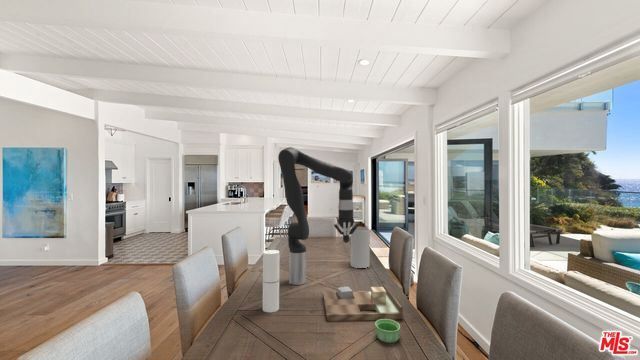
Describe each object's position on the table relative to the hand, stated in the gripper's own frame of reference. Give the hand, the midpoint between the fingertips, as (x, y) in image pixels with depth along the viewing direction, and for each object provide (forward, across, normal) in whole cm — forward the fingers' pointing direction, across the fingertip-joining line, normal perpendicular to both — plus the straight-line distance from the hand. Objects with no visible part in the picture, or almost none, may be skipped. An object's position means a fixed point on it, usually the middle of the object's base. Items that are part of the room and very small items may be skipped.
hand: (346, 242), depth 141 cm
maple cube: (+23, +10, -18) cm, 31 cm away
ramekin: (+25, +5, -42) cm, 49 cm away
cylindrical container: (+25, -38, -14) cm, 47 cm away
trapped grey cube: (+25, -3, -10) cm, 27 cm away
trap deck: (+25, +1, -17) cm, 31 cm away
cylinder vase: (+27, +19, +41) cm, 53 cm away
